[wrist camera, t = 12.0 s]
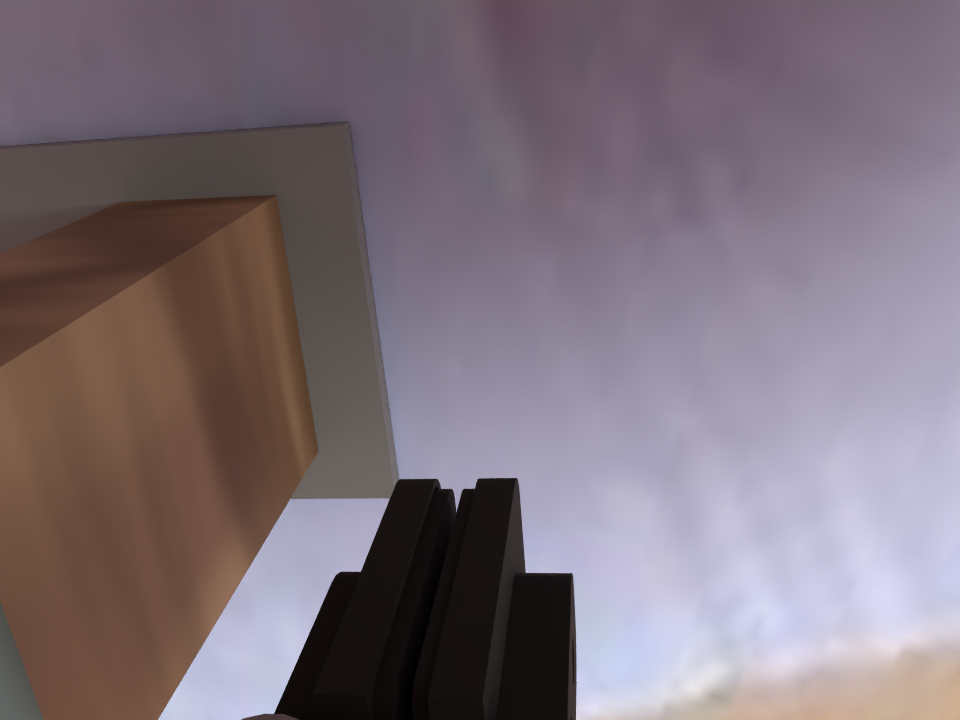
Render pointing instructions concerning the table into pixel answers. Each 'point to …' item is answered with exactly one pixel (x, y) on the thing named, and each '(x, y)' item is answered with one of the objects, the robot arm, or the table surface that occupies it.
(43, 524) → the block
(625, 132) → the table surface
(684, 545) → the table surface
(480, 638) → the robot arm
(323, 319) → the mat
